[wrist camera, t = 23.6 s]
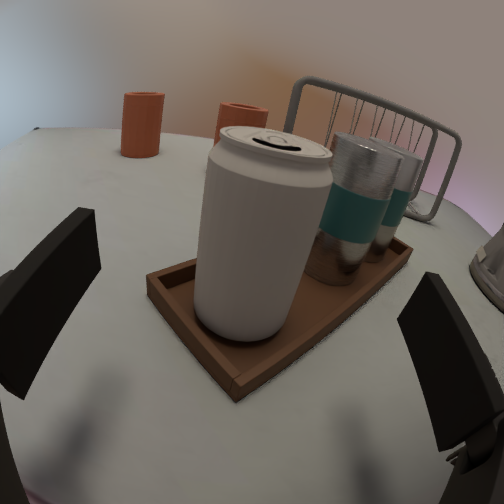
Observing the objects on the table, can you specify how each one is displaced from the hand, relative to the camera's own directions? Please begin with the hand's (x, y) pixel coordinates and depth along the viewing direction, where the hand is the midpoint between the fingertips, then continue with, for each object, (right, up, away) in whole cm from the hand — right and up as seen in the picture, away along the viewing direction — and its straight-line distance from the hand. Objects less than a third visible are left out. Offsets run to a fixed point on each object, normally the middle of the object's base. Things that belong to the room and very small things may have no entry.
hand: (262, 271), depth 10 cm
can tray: (+5, -1, +15) cm, 16 cm away
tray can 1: (+7, -1, +17) cm, 18 cm away
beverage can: (-1, -4, +10) cm, 10 cm away
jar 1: (-21, +19, +37) cm, 46 cm away
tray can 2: (+12, +1, +21) cm, 24 cm away
